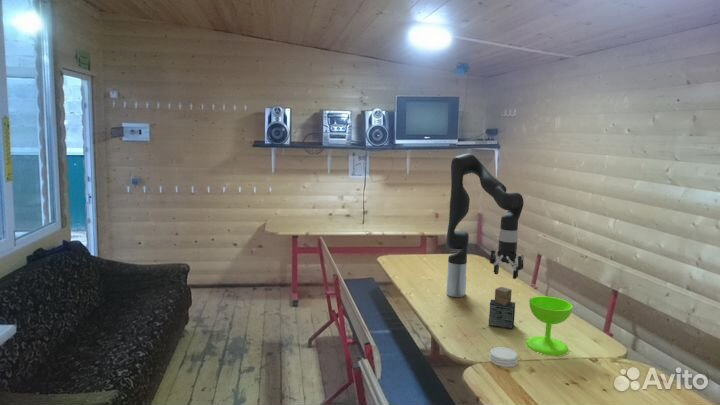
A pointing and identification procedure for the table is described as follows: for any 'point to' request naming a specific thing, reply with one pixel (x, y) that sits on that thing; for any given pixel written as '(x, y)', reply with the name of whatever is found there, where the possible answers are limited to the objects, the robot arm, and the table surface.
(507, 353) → the white short cylinder
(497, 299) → the walnut block
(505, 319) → the small box
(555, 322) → the wineglass
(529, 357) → the table surface
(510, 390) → the table surface
